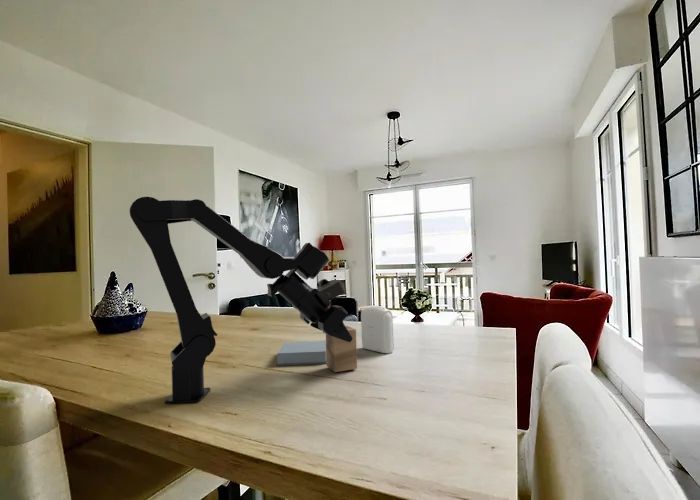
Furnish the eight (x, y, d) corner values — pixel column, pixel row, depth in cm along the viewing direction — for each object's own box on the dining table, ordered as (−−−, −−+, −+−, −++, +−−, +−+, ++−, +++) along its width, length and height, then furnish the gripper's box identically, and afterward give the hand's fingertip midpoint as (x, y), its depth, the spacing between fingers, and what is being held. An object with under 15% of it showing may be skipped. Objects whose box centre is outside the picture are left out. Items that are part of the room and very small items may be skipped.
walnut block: (357, 368, 84) (355, 329, 85) (334, 372, 82) (333, 331, 82) (347, 362, 89) (346, 325, 90) (326, 365, 87) (325, 328, 87)
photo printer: (359, 348, 105) (358, 305, 105) (370, 345, 107) (369, 303, 108) (385, 355, 97) (383, 308, 97) (396, 352, 99) (394, 306, 100)
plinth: (326, 363, 91) (326, 351, 91) (276, 365, 90) (276, 353, 90) (328, 350, 103) (328, 340, 103) (284, 352, 103) (284, 342, 103)
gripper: (337, 269, 76) (385, 317, 80) (311, 268, 93) (351, 307, 97) (302, 309, 73) (354, 358, 77) (281, 301, 90) (324, 340, 94)
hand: (346, 338), depth 86 cm, fingers closed on walnut block, 5 cm apart
